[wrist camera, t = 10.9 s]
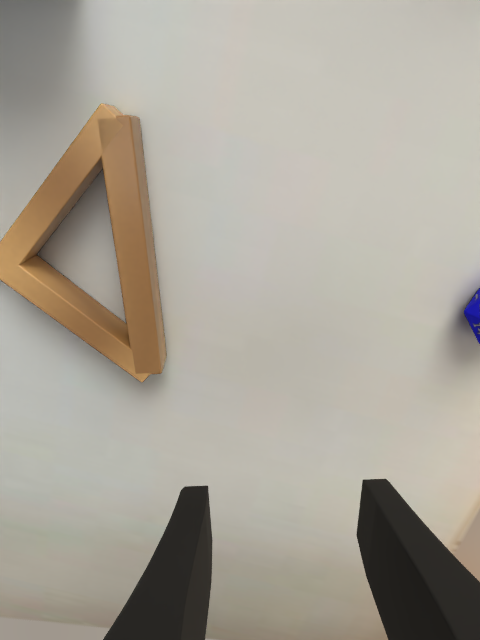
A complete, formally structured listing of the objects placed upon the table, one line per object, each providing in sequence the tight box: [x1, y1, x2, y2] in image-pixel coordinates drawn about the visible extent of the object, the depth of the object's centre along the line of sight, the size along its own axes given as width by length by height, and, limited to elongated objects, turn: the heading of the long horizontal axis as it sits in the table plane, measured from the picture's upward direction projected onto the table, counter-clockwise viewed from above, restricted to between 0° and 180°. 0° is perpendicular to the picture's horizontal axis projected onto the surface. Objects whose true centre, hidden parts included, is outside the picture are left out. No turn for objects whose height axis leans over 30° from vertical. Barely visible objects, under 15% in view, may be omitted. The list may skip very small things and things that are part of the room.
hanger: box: [0, 103, 167, 382], centre depth 17 cm, size 8×11×2 cm
